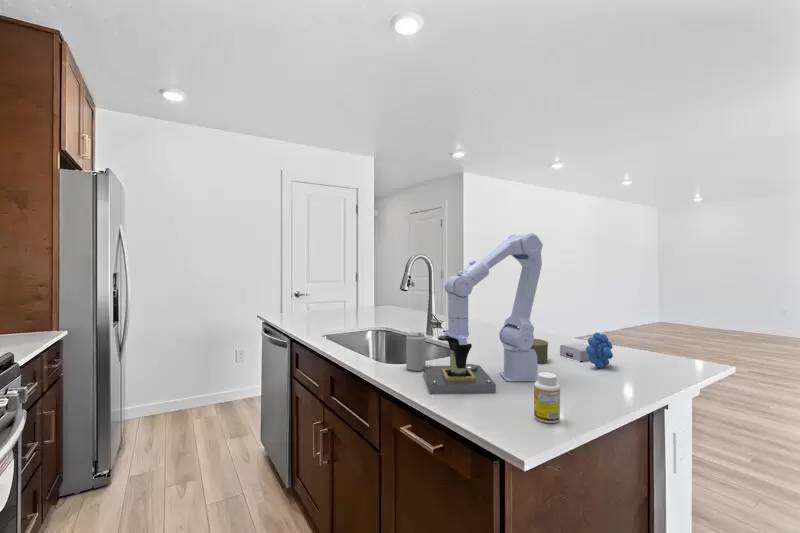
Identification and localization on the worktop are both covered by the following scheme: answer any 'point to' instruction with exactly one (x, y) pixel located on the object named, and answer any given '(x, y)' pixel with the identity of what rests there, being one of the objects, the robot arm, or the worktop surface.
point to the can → (540, 350)
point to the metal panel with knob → (458, 380)
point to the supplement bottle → (547, 398)
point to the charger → (575, 351)
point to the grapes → (599, 350)
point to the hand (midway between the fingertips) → (458, 364)
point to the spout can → (455, 367)
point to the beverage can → (415, 351)
